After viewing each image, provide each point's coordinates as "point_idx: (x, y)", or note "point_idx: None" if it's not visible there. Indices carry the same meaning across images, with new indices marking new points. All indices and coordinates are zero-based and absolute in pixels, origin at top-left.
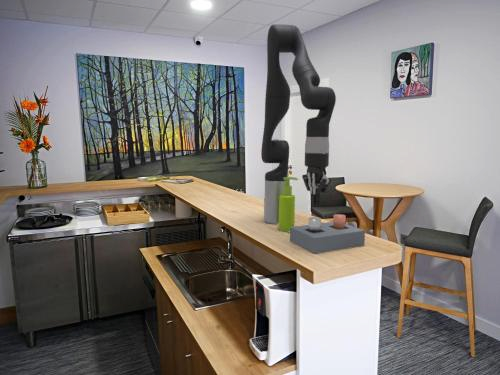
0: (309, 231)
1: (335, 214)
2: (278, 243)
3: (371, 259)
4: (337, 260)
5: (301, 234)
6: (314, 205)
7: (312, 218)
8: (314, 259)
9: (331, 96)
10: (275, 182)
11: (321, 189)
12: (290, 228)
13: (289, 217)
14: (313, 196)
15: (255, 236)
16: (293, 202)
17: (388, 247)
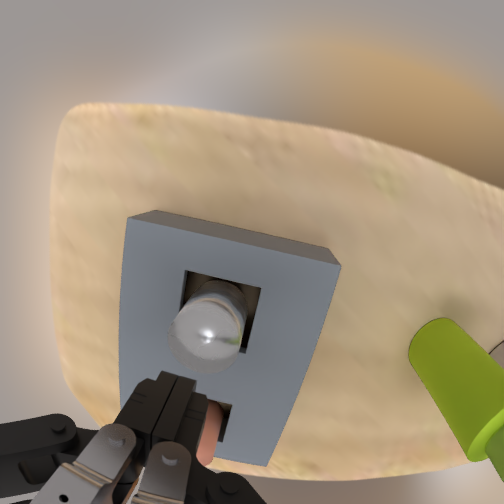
0: (222, 285)
1: (212, 457)
2: (338, 188)
3: (52, 309)
4: (78, 226)
5: (234, 238)
6: (161, 373)
7: (212, 335)
8: (117, 169)
9: None
10: None
11: (52, 458)
12: (337, 263)
13: (437, 368)
14: (143, 416)
15: (457, 184)
16: (457, 429)
17: (104, 416)
